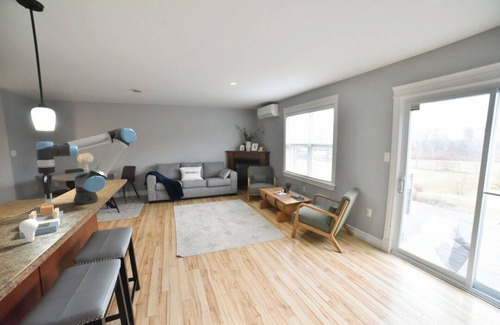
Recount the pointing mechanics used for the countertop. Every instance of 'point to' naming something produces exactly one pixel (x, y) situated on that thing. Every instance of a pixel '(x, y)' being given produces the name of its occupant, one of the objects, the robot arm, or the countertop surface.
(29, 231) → the lightbulb
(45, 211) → the block
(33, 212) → the tunnel deck
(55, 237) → the countertop surface
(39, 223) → the pad
